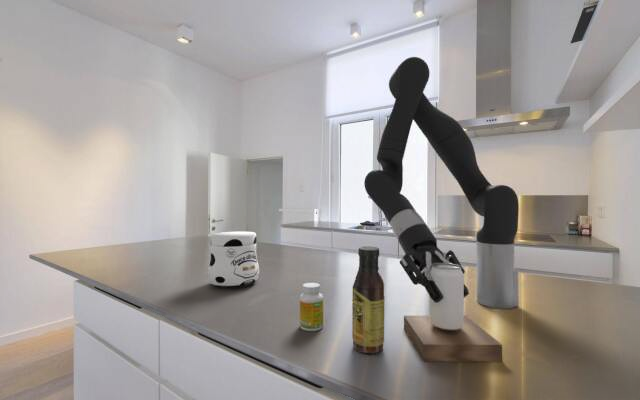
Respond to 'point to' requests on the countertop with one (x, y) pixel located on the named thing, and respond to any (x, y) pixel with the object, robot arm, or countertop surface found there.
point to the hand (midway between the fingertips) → (452, 298)
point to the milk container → (233, 259)
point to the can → (447, 297)
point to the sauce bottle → (368, 303)
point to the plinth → (452, 341)
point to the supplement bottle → (311, 307)
